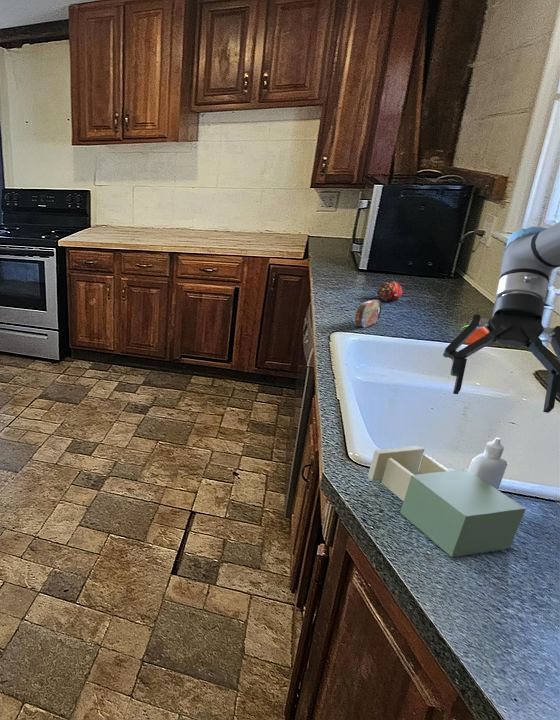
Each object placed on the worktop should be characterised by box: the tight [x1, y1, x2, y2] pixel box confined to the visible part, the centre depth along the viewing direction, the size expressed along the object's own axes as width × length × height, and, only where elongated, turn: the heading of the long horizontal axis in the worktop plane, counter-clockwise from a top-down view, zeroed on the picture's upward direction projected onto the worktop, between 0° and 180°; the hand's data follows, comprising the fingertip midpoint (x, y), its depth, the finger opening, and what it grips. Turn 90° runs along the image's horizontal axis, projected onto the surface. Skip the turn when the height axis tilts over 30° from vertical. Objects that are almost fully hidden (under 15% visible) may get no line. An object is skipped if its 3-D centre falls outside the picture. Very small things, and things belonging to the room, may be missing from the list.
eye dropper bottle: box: [467, 436, 508, 490], centre depth 93 cm, size 4×6×12 cm
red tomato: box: [459, 324, 490, 346], centre depth 166 cm, size 8×7×7 cm
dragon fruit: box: [376, 281, 403, 302], centre depth 214 cm, size 8×8×12 cm
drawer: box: [367, 445, 451, 502], centre depth 95 cm, size 11×10×6 cm
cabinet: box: [399, 468, 527, 558], centre depth 85 cm, size 11×11×8 cm
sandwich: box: [354, 299, 382, 329], centre depth 184 cm, size 15×3×8 cm, turn 129°
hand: (500, 400), depth 97 cm, fingers open, 13 cm apart
